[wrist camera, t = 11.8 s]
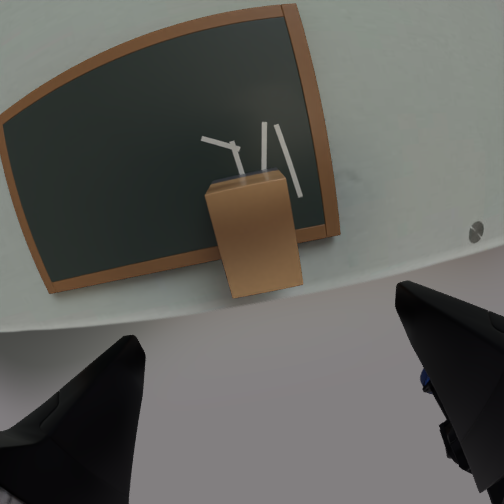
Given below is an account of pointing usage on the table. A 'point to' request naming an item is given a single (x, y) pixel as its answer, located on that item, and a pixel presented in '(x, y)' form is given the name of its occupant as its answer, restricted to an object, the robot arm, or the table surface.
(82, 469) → the robot arm
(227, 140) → the chalkboard
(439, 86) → the table surface
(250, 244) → the eraser
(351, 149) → the table surface
